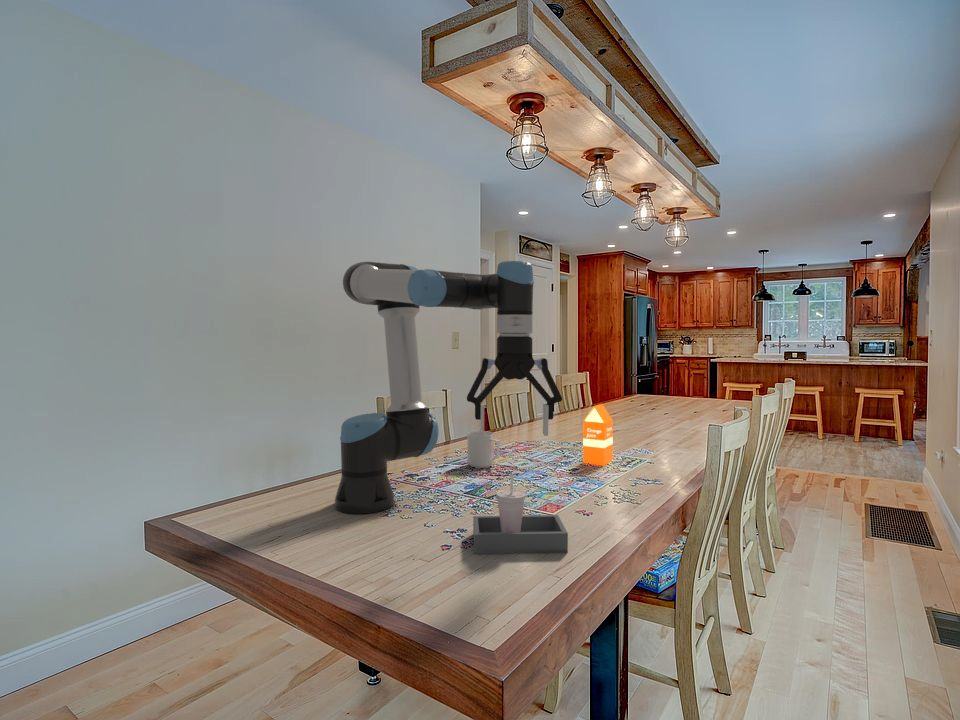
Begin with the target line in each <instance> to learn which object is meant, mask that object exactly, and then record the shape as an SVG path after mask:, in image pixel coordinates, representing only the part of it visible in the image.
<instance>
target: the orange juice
mask: <svg viewBox="0 0 960 720" xmlns="http://www.w3.org/2000/svg"><path fill="white" fill-rule="evenodd" d="M613 421H614V420H613V418H612V417H611V416H610V414H609V412H608V410H607V409H606V407H605V406H604V404H603V403H600V404H597V405H594V406H593V407H592V409H591V410H590V411H589V413H588V414H587V416H586V417H585V418H584V420H583V421H582V423H583V424H582V426H583V428H582V429H583V431H582V432H583V435H582V436H583V437H582V442H583V444H582V445H583V446H582V447H583V448H582V450H583V452H582V454H583V456H582V460H583V461H582V462H583V464H588V463H589V464H588V465H595V464H596V466H597V465H598V466H603V467H604V466H606V465H607V464H609V463H611V462H613V440H614V439H613V437H614V435H613V432H614V431H613V429H614V428H613V426H614V425H613V424H614V423H613Z"/></svg>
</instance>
